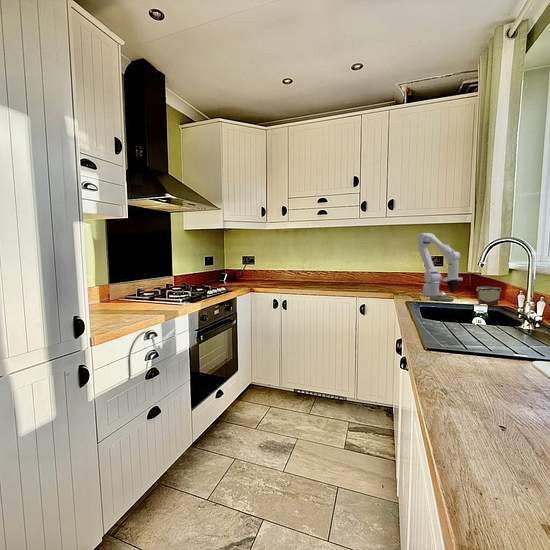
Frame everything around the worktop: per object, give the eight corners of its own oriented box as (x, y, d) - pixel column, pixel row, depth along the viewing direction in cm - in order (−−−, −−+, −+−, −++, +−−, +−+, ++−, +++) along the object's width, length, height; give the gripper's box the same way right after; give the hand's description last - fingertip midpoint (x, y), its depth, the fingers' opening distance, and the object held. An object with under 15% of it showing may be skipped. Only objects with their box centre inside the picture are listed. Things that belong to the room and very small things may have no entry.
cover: (434, 296, 189) (434, 291, 189) (441, 296, 191) (441, 290, 191) (441, 297, 184) (441, 292, 184) (448, 297, 186) (448, 291, 186)
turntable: (424, 298, 192) (425, 296, 192) (440, 297, 196) (440, 294, 196) (442, 301, 179) (442, 298, 179) (458, 300, 184) (458, 297, 184)
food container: (493, 303, 171) (494, 286, 171) (500, 305, 165) (501, 287, 165) (471, 303, 173) (471, 286, 172) (477, 305, 167) (477, 287, 166)
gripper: (449, 271, 183) (449, 293, 184) (467, 270, 188) (466, 292, 189) (440, 271, 190) (439, 292, 191) (457, 270, 195) (456, 291, 196)
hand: (452, 292), depth 190 cm, fingers closed
